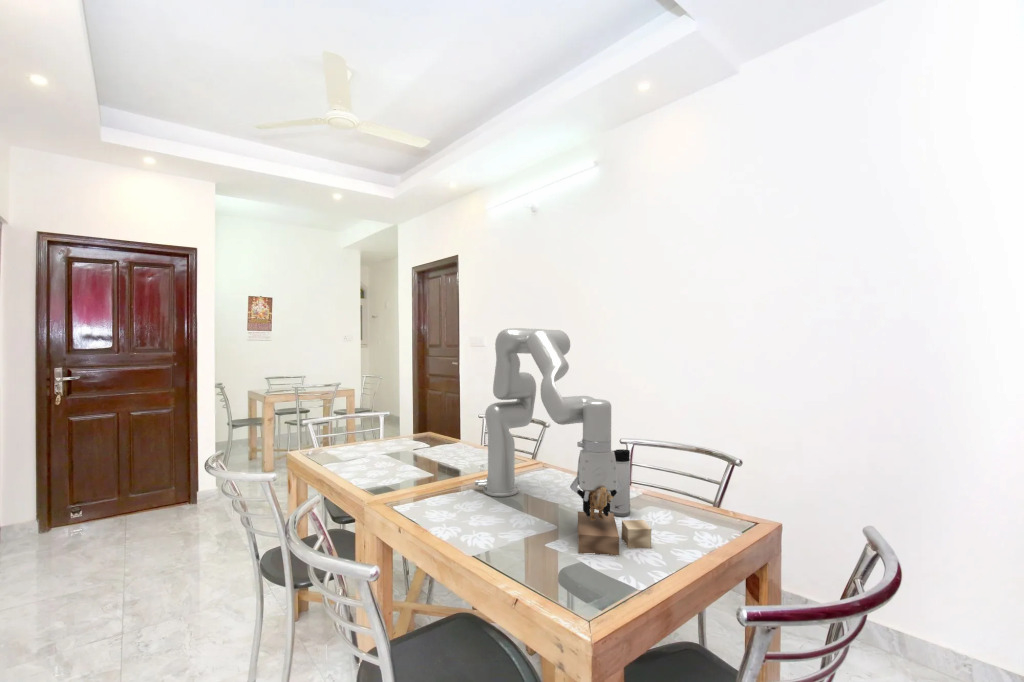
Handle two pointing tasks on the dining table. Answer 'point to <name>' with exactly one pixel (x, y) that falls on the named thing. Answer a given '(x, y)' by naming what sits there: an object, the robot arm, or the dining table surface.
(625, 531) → the oak block
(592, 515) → the lion figurine
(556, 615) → the dining table surface
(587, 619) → the dining table surface
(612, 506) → the travel mug
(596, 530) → the walnut block
